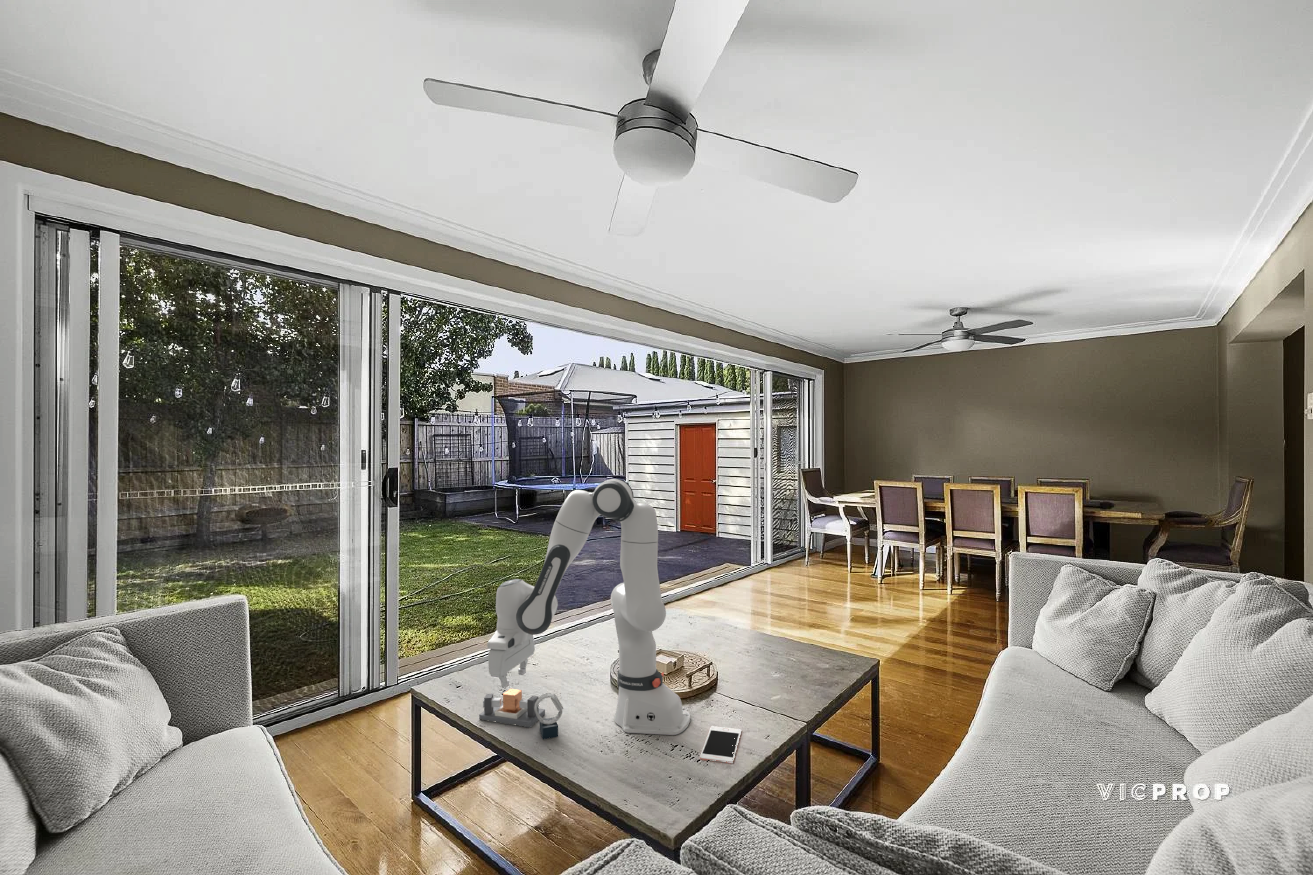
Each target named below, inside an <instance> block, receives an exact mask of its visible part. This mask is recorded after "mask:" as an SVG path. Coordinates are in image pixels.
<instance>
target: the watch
mask: <svg viewBox="0 0 1313 875" xmlns="http://www.w3.org/2000/svg"><path fill="white" fill-rule="evenodd" d="M549 698H550V700H551V701H552V704H553V705H554V706H555V708H556V710H557V711H558V712H557V715H555V717H547V718H543V716H542V717H541V716H540V715H539V713H538V709H537V706H538V704H539V705H540V703H541V702H542V701H543V700H545V699H549ZM534 708H535V709H534V710H535V713H536V716H537V718H538V721H539V726H538V728H539V732H540V733H539V734H540V736H541V739H542V740H548V739H553V738H559V724H558V721H559V720H560V718H561V717H562V715H563V710H564V706H563V705H562V702H561V701H560V699H559V698H558V696H557V695H556V694H555V693H551V692H547V693H544V694H541V695H540V696H538V699H537V701H536V702H535V707H534Z"/></svg>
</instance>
